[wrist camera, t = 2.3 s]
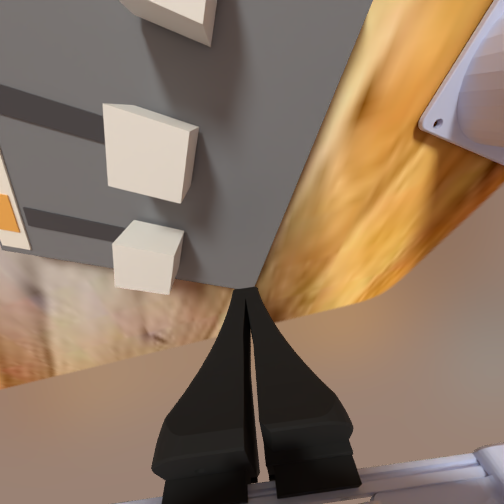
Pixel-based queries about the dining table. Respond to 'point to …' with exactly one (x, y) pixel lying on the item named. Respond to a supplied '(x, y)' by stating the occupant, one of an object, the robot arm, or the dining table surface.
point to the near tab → (178, 16)
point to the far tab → (147, 257)
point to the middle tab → (148, 152)
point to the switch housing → (169, 104)
